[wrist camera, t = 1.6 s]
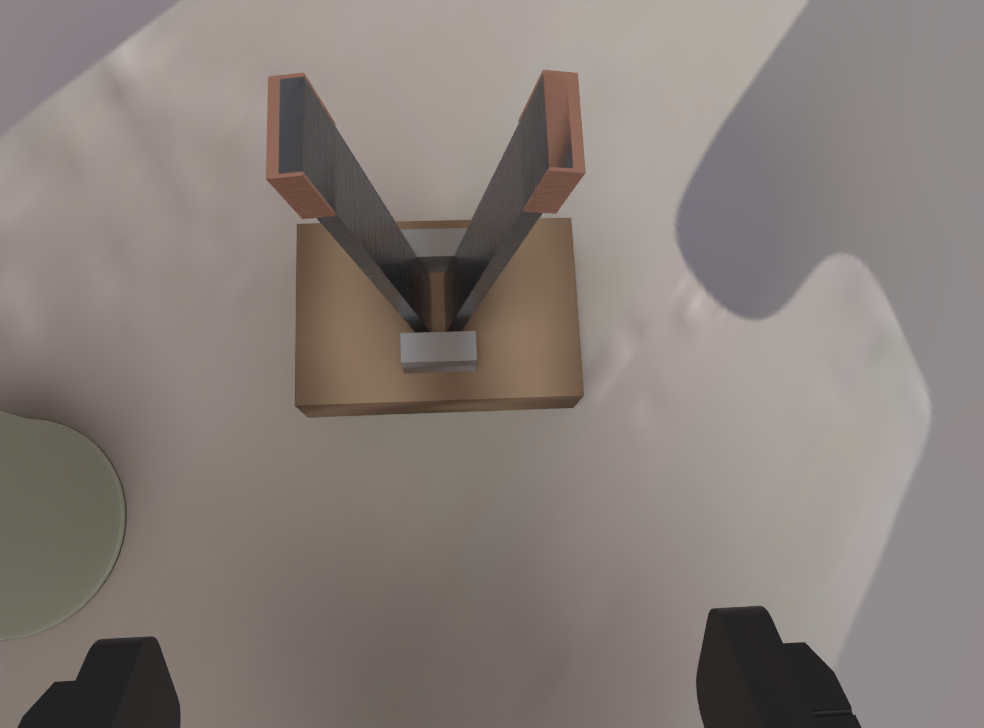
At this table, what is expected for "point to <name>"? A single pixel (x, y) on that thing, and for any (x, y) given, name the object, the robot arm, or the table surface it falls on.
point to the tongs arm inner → (340, 195)
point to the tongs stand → (437, 330)
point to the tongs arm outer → (519, 192)
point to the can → (53, 523)
